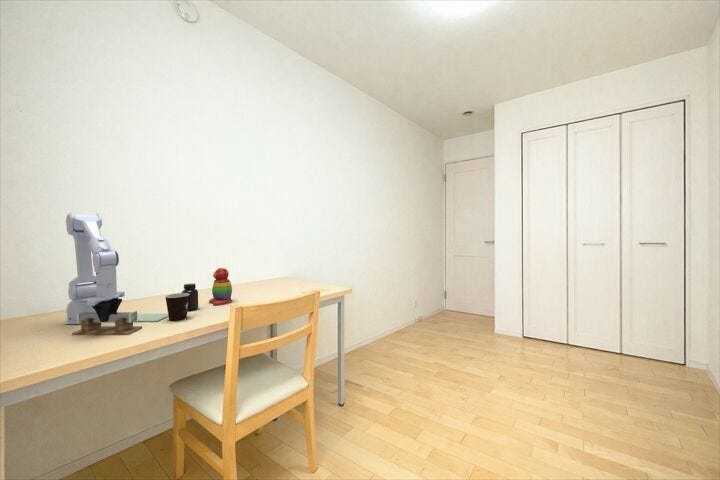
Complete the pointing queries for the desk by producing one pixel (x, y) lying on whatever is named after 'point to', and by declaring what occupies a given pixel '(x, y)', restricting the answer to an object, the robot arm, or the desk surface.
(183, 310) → the coffee mug
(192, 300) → the supplement bottle
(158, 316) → the mat
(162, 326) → the desk surface
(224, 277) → the stacking bear
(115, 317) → the rail
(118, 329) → the stand
